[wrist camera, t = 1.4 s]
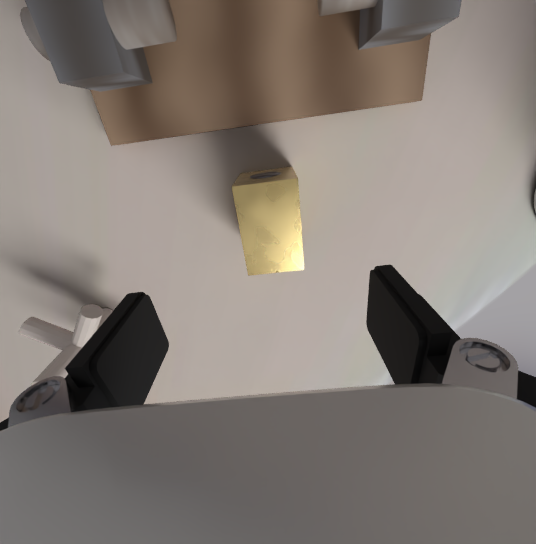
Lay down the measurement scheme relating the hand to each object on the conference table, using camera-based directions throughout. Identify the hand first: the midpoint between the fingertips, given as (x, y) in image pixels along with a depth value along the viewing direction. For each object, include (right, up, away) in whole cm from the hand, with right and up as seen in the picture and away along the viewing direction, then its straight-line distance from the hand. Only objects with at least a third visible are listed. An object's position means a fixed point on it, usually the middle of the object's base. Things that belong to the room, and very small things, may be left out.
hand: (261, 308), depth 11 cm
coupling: (+1, +7, +13) cm, 15 cm away
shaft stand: (-1, +19, +7) cm, 20 cm away
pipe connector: (-18, -3, +20) cm, 27 cm away
